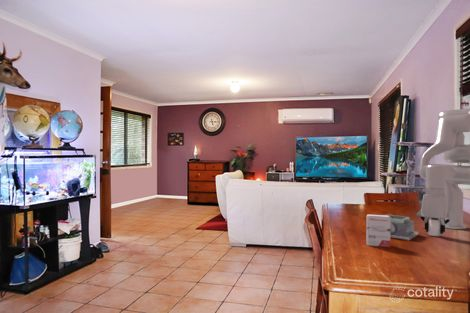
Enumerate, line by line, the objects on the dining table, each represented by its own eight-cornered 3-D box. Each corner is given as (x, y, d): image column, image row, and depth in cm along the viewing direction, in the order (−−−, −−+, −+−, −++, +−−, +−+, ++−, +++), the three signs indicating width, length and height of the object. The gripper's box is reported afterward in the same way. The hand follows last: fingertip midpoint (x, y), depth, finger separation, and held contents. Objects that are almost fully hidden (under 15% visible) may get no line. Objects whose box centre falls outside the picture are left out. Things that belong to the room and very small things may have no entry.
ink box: (389, 244, 133) (389, 215, 133) (390, 247, 128) (391, 217, 128) (365, 242, 135) (366, 213, 135) (366, 245, 131) (367, 215, 131)
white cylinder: (429, 233, 153) (429, 215, 153) (442, 234, 150) (442, 217, 150) (427, 234, 149) (427, 217, 149) (439, 236, 146) (440, 218, 146)
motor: (380, 228, 162) (380, 212, 162) (418, 234, 151) (418, 217, 151) (368, 234, 150) (369, 216, 150) (408, 240, 139) (408, 222, 139)
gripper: (412, 191, 152) (411, 230, 152) (456, 194, 141) (455, 237, 141) (416, 190, 158) (415, 228, 158) (459, 193, 146) (458, 234, 147)
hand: (434, 232), depth 149 cm, fingers closed on white cylinder, 5 cm apart
